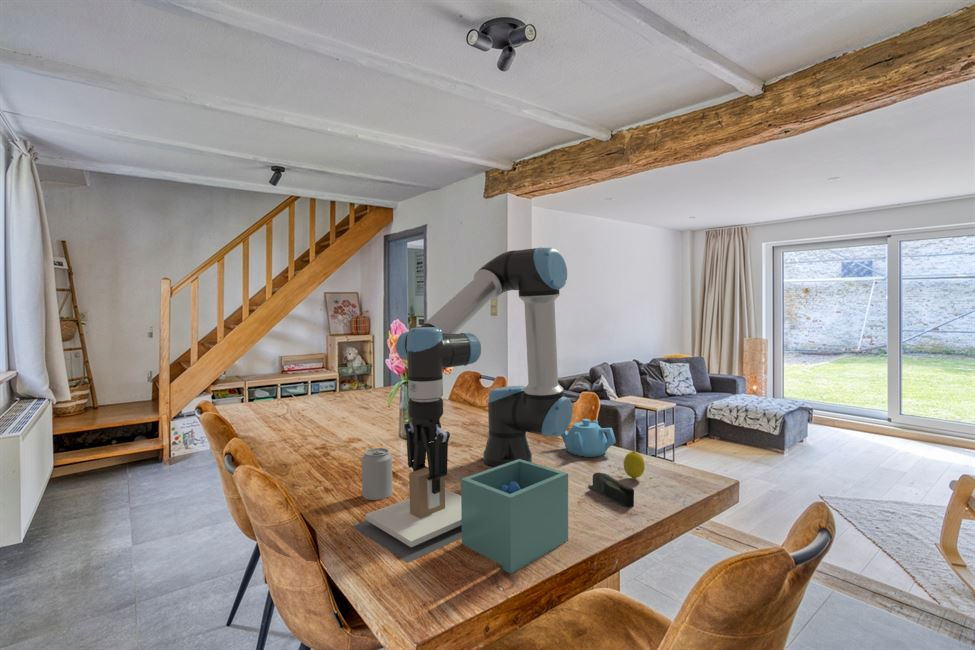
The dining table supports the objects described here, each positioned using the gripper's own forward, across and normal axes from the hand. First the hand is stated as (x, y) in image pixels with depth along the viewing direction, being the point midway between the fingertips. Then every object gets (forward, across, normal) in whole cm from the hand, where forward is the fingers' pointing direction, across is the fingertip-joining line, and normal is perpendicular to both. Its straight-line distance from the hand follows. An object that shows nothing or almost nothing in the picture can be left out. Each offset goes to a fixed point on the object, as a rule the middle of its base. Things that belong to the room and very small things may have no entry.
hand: (427, 503), depth 106 cm
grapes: (+5, +19, +8) cm, 21 cm away
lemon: (+6, +18, +58) cm, 61 cm away
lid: (+3, 0, 0) cm, 3 cm away
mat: (+5, 0, 0) cm, 5 cm away
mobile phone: (+6, +20, +42) cm, 47 cm away
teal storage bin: (+5, +19, +8) cm, 21 cm away
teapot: (+6, -6, +70) cm, 70 cm away
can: (+5, -22, +1) cm, 23 cm away
